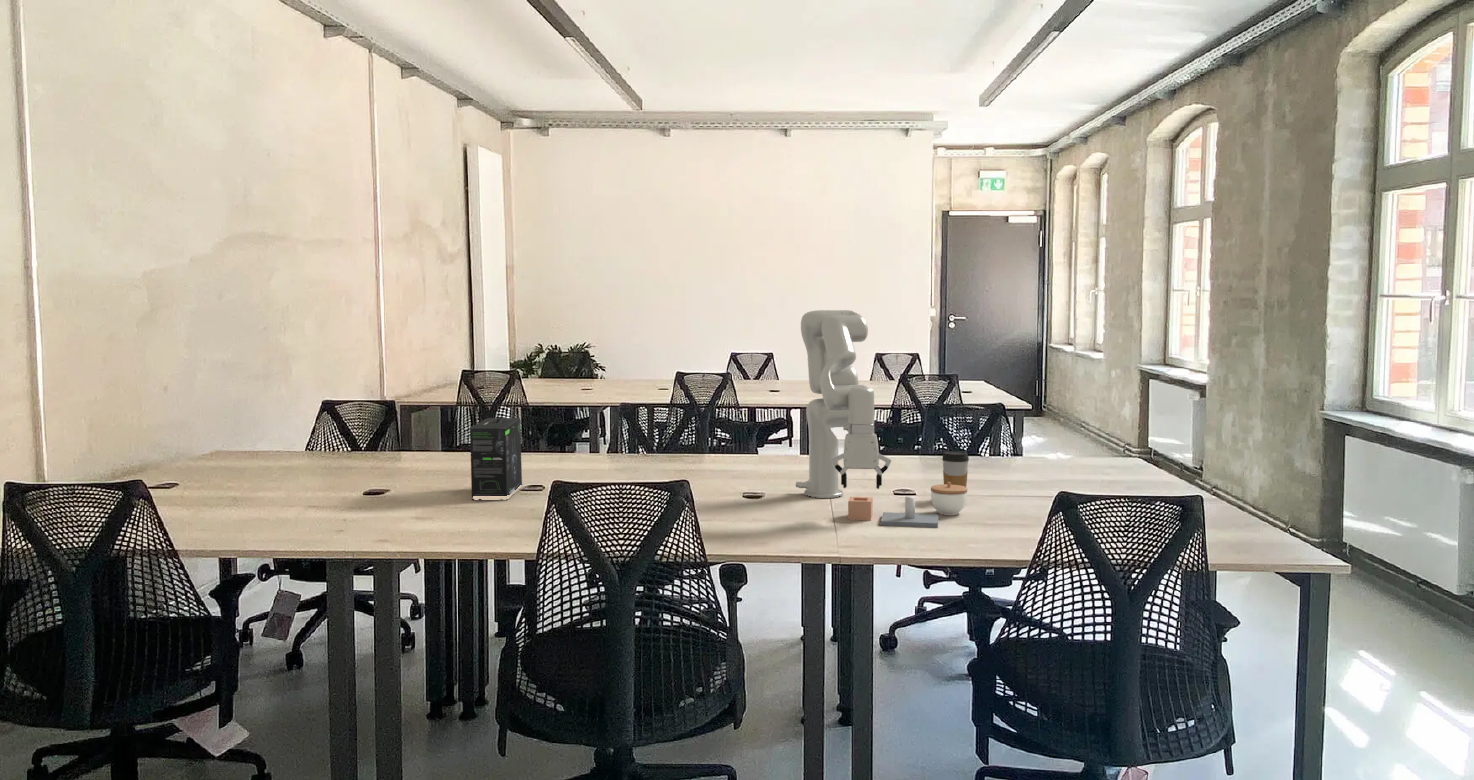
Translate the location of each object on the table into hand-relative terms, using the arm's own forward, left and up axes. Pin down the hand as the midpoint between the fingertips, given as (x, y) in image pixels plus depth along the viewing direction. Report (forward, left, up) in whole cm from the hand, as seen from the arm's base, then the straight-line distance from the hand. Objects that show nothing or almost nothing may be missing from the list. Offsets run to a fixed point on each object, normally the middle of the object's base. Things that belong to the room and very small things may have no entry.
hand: (861, 487), depth 309 cm
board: (+14, -2, -9) cm, 17 cm away
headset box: (-121, +16, -9) cm, 122 cm away
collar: (0, +1, -9) cm, 9 cm away
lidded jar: (+25, +12, -9) cm, 29 cm away
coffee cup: (+27, +33, -9) cm, 44 cm away
